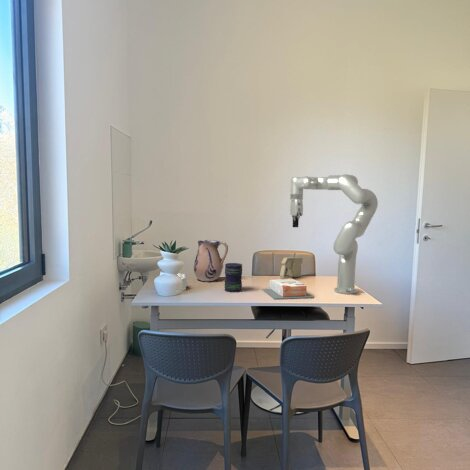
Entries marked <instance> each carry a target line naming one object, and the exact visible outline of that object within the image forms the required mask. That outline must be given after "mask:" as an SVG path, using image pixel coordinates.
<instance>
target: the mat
mask: <svg viewBox="0 0 470 470" xmlns="http://www.w3.org/2000/svg"><path fill="white" fill-rule="evenodd" d="M262 291H263V292H264V293H265V294H267V295H268V296H269V297H271V298H272V299H273V300H275V301H276V300H299V299H301V300H302V299H314V296H312V295H311V294H309V293H308V292H306V296H289V297H282V296H280V295H279V294H277V293H276V292H274V291H273V290H271V289H270V288H262Z"/></svg>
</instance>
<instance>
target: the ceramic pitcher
mask: <svg viewBox="0 0 470 470" xmlns="http://www.w3.org/2000/svg"><path fill="white" fill-rule="evenodd" d="M197 245H198V248H197V253H196V256H195V260H194V264H193V273H194V275H195V277H196V278H197V279H198V280H199V281H201V282H214V281H216V280H217V279H219V278H220V276H221V274H222V272H223V271H222V270H223V269H224V262H225V259H226V258H227V255H228V251H229V246H228V244H227V243H226V242H224V241H219V240H214V239H213V240H211V239H205V240H197ZM220 245H223V246H224V247H225V250H224V254H223V257H221V256H220V253H219V250H218V248H219V246H220Z"/></svg>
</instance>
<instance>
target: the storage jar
mask: <svg viewBox="0 0 470 470" xmlns="http://www.w3.org/2000/svg"><path fill="white" fill-rule="evenodd" d="M224 275H225V276H224V277H225V278H224V292H226V293H240V292H242V288H243V287H242V286H243V284H242V283H243V282H242V281H243V280H242V276H243V263H239V262H229V263H225V264H224Z"/></svg>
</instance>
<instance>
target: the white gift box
mask: <svg viewBox="0 0 470 470" xmlns="http://www.w3.org/2000/svg"><path fill="white" fill-rule="evenodd" d="M177 275H178V276H179V277H181V279H182V282H183V283H182V289H181V290H179V291H176V292H175V293H179V292H180V293H181V292H184V291H186V290H187V275H186V274H185V273H180V272H179V273H178V274H177Z"/></svg>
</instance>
